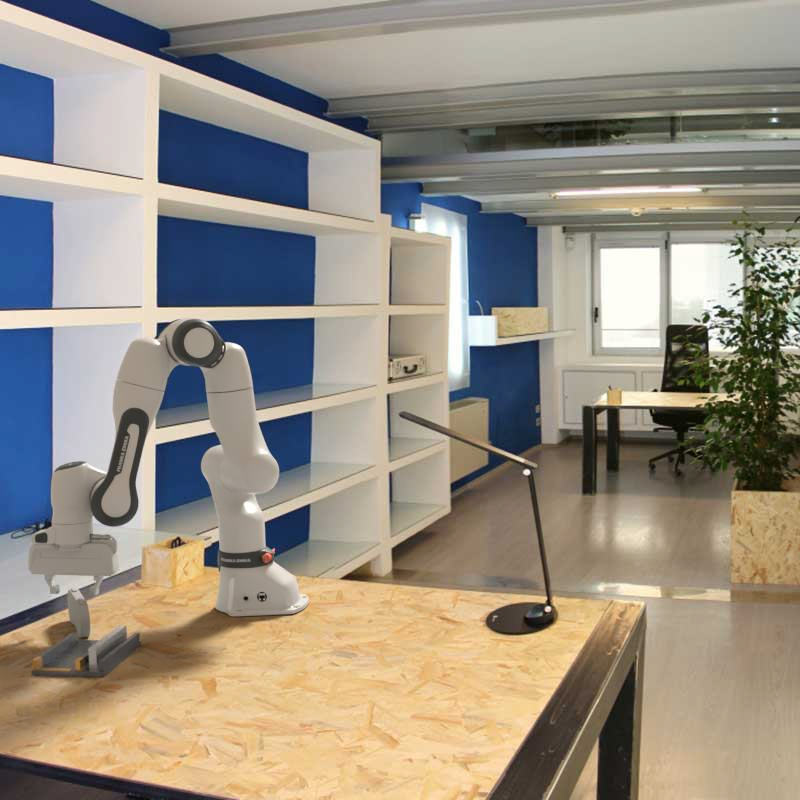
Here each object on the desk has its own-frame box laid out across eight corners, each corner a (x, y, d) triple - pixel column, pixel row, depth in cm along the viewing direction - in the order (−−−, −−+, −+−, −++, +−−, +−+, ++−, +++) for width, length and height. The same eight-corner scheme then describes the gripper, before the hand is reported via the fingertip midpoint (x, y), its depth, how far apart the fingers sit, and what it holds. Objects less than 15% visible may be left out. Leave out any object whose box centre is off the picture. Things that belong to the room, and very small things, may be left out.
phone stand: (141, 645, 220) (139, 622, 220) (103, 677, 201) (102, 652, 201) (75, 644, 222) (73, 621, 222) (32, 675, 203) (30, 650, 203)
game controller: (92, 640, 225) (90, 603, 224) (81, 642, 224) (79, 605, 223) (78, 618, 242) (76, 583, 242) (68, 619, 241) (66, 585, 241)
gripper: (122, 531, 233) (123, 591, 234) (37, 530, 235) (39, 589, 236) (110, 537, 226) (112, 598, 227) (23, 535, 229) (25, 596, 230)
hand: (74, 594), depth 232 cm, fingers open, 8 cm apart
